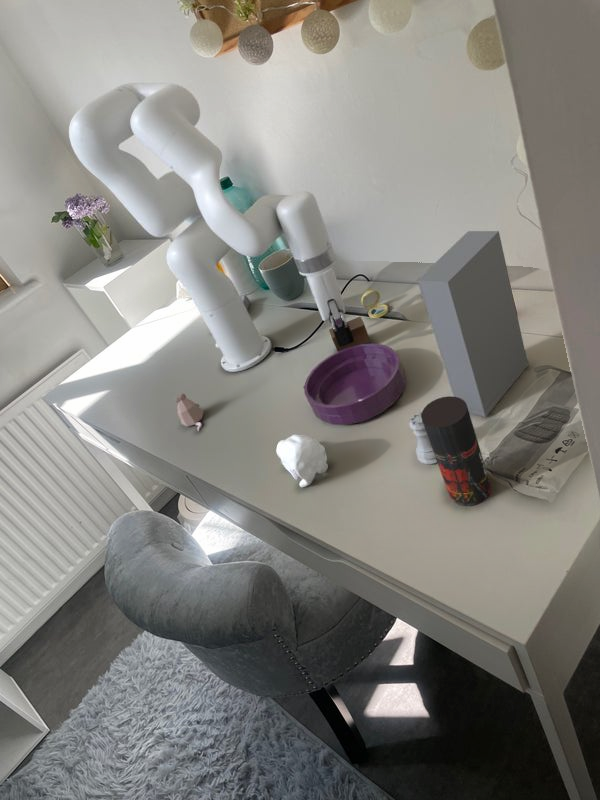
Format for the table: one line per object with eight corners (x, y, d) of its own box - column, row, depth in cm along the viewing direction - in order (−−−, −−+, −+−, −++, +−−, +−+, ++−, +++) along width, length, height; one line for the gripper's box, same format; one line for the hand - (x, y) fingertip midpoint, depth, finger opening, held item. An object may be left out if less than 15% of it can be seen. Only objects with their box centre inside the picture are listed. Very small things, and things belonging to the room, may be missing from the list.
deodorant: (443, 483, 90) (416, 406, 82) (482, 469, 89) (459, 390, 81) (456, 511, 85) (428, 433, 77) (497, 497, 84) (473, 416, 76)
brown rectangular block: (341, 359, 126) (331, 338, 123) (337, 350, 130) (328, 329, 127) (372, 346, 126) (364, 324, 123) (368, 337, 129) (360, 316, 126)
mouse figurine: (188, 437, 126) (172, 413, 122) (180, 419, 132) (165, 396, 129) (210, 425, 126) (194, 400, 123) (201, 407, 133) (187, 384, 129)
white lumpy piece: (287, 457, 94) (254, 435, 104) (310, 496, 98) (276, 471, 108) (319, 432, 96) (282, 413, 106) (340, 472, 100) (303, 449, 110)
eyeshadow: (374, 320, 133) (367, 301, 131) (364, 313, 138) (357, 294, 135) (391, 310, 134) (385, 291, 131) (381, 303, 138) (374, 285, 135)
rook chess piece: (440, 467, 92) (426, 429, 88) (413, 464, 95) (398, 426, 91) (450, 446, 95) (437, 408, 91) (423, 444, 98) (410, 406, 93)
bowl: (295, 416, 117) (285, 396, 114) (351, 358, 125) (343, 338, 123) (368, 437, 104) (358, 415, 101) (425, 371, 112) (418, 349, 110)
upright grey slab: (496, 359, 107) (464, 230, 93) (529, 365, 103) (500, 230, 89) (453, 410, 101) (411, 280, 88) (486, 418, 97) (447, 282, 83)
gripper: (291, 249, 124) (318, 319, 133) (302, 284, 110) (332, 360, 119) (326, 235, 123) (351, 307, 133) (342, 269, 109) (368, 346, 119)
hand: (342, 332), depth 126 cm, fingers open, 9 cm apart
